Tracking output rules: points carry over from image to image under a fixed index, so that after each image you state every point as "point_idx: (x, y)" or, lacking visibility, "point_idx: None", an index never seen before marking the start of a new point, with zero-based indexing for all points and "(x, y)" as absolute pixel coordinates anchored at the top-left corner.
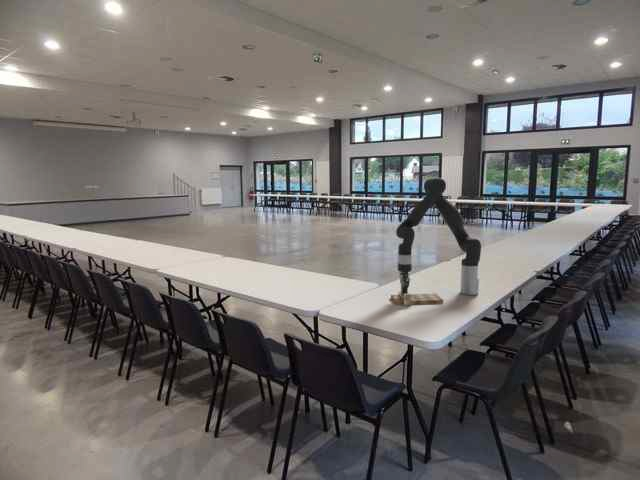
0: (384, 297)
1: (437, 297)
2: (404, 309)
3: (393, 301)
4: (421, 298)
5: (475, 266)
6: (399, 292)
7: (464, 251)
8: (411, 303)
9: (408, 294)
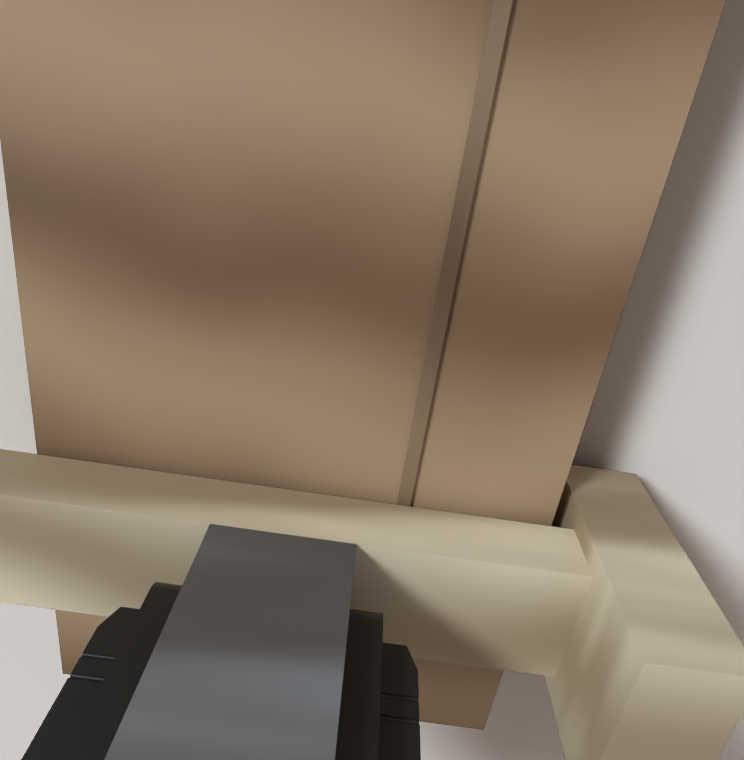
0: (25, 669)
1: None
2: (736, 633)
3: None
4: (478, 155)
5: None
6: (74, 608)
7: None
8: (647, 503)
9: (716, 752)
